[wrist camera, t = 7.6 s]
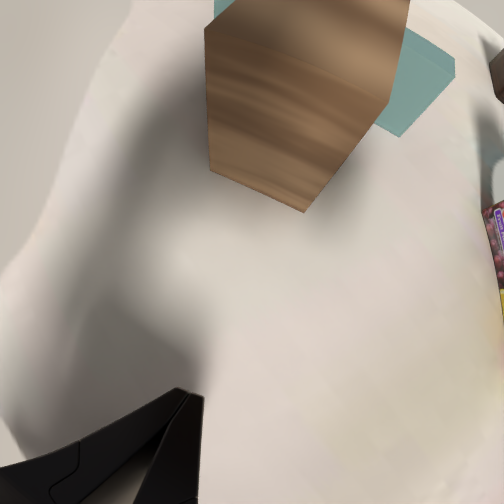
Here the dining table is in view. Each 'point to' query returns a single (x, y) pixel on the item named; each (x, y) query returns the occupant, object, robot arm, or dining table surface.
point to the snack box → (496, 240)
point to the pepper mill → (498, 75)
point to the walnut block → (297, 88)
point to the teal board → (407, 79)
